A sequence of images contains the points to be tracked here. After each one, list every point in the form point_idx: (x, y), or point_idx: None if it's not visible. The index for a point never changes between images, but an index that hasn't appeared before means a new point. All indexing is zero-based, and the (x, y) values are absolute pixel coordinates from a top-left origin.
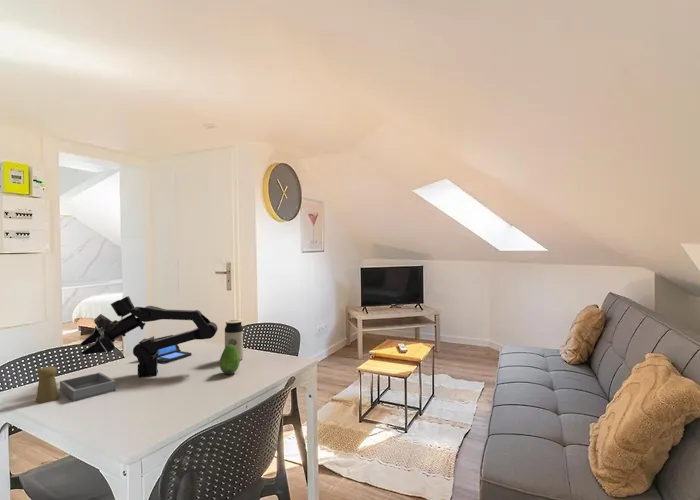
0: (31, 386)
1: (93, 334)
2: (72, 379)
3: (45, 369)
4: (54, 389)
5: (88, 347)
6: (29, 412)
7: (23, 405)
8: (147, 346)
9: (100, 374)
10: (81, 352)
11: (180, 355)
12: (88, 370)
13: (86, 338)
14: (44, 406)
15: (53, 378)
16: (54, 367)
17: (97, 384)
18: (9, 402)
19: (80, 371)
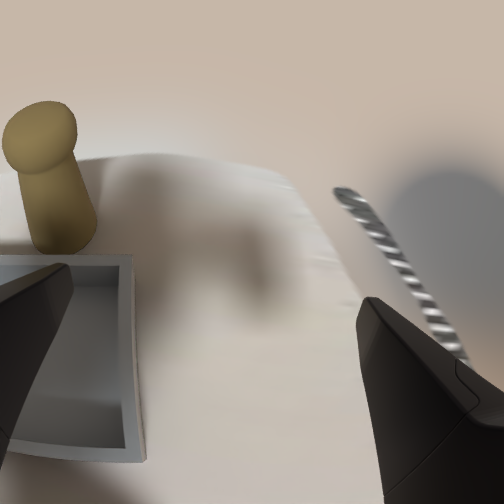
0: (299, 226)
1: (461, 425)
2: (118, 307)
3: (17, 112)
4: (27, 214)
5: (4, 295)
6: (2, 177)
7: None
8: None
9: (84, 448)
10: (65, 263)
11: None
12: None
13: (425, 338)
14: (7, 208)
15: (18, 176)
16: (14, 138)
17: (62, 420)
18: (149, 157)
19: None
